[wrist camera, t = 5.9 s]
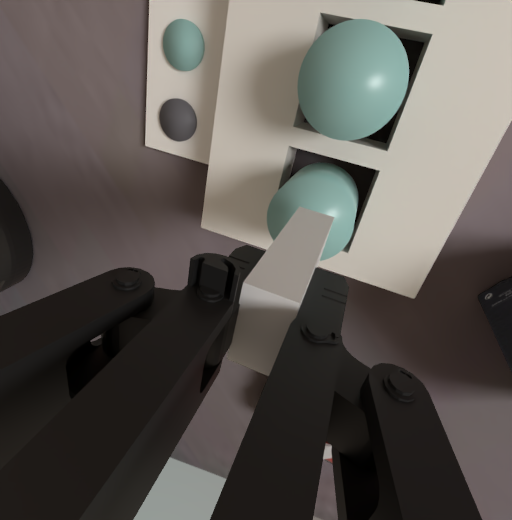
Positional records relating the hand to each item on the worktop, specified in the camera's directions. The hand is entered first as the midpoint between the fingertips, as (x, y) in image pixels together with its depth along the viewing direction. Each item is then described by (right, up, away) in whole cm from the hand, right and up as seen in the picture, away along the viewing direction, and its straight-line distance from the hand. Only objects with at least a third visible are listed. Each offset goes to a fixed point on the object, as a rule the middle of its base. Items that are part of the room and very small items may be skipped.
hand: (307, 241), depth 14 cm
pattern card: (-6, +12, +6) cm, 15 cm away
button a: (+2, +3, +5) cm, 6 cm away
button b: (+3, +8, +2) cm, 9 cm away
